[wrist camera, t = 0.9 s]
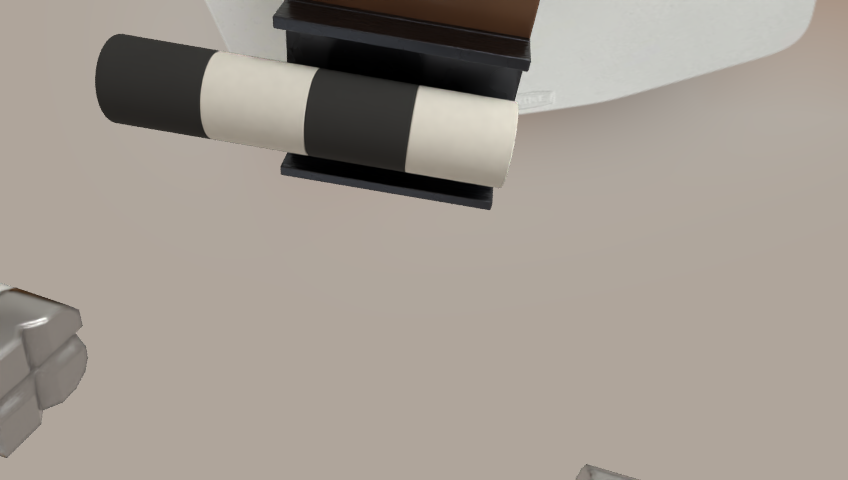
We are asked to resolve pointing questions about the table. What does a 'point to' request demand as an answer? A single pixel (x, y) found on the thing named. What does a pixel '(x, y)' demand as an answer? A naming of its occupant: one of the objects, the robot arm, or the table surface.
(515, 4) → the shelf
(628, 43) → the table surface
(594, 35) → the table surface
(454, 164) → the roll
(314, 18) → the tray
